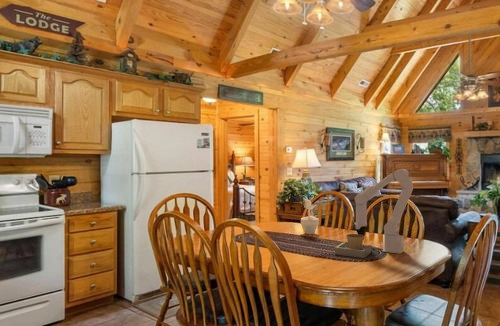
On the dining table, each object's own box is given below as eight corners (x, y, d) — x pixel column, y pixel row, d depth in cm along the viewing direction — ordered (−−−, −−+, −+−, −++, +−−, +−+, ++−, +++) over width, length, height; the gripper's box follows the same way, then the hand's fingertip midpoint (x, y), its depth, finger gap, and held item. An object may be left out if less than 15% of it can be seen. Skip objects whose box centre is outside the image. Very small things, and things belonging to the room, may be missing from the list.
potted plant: (297, 232, 250) (297, 194, 249) (312, 231, 255) (312, 194, 254) (308, 236, 238) (308, 196, 238) (323, 234, 243) (323, 195, 243)
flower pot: (344, 253, 196) (344, 236, 196) (347, 249, 205) (347, 233, 205) (363, 254, 193) (363, 238, 193) (365, 250, 202) (365, 234, 202)
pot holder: (371, 252, 198) (371, 245, 198) (363, 258, 187) (363, 251, 187) (343, 248, 206) (343, 242, 206) (334, 254, 195) (334, 247, 195)
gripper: (357, 213, 217) (357, 236, 217) (350, 216, 204) (350, 241, 204) (370, 214, 213) (370, 238, 213) (363, 217, 201) (363, 243, 201)
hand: (361, 240), depth 209 cm, fingers closed
